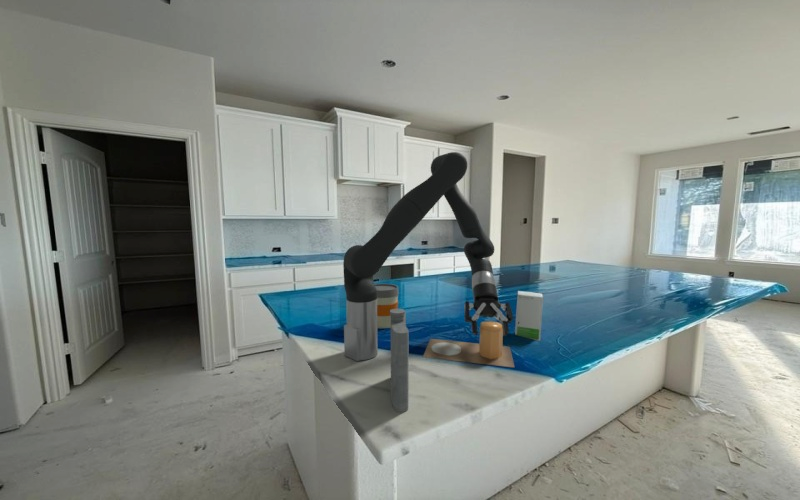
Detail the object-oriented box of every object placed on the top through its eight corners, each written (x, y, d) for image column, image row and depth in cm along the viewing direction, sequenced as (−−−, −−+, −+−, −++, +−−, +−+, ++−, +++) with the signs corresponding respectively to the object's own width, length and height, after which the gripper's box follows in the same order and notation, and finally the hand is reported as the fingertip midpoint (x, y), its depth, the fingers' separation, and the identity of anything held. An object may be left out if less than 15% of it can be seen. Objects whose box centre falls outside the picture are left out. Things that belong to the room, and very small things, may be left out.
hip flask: (408, 412, 65) (409, 321, 63) (389, 412, 65) (389, 321, 63) (405, 374, 81) (405, 301, 79) (389, 374, 81) (389, 301, 79)
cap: (495, 360, 85) (496, 329, 85) (476, 354, 89) (477, 324, 89) (504, 353, 90) (505, 324, 89) (485, 348, 94) (486, 319, 93)
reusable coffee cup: (398, 330, 113) (398, 290, 112) (365, 330, 113) (364, 290, 112) (399, 319, 126) (399, 283, 124) (368, 319, 126) (368, 283, 124)
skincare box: (514, 338, 106) (516, 294, 104) (515, 332, 112) (516, 290, 110) (541, 342, 102) (543, 296, 101) (540, 335, 109) (542, 292, 107)
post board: (509, 351, 95) (510, 331, 94) (514, 372, 82) (515, 349, 81) (430, 343, 101) (430, 324, 101) (422, 361, 88) (422, 340, 87)
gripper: (463, 281, 98) (467, 328, 87) (508, 282, 97) (518, 329, 86) (461, 293, 103) (465, 339, 93) (503, 294, 102) (512, 340, 92)
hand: (490, 334), depth 90 cm, fingers open, 8 cm apart
